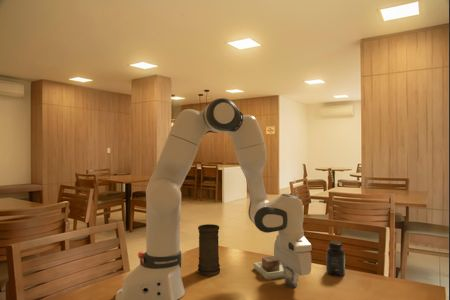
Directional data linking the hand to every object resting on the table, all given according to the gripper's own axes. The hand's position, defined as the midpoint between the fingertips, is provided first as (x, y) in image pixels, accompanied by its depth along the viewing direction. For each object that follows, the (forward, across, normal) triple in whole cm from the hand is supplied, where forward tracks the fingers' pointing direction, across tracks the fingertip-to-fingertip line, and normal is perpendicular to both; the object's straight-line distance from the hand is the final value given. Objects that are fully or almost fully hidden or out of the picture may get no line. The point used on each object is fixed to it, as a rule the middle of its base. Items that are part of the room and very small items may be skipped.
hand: (290, 278), depth 119 cm
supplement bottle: (+2, -4, +22) cm, 22 cm away
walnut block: (+2, -12, -2) cm, 12 cm away
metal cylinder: (+2, 0, 0) cm, 2 cm away
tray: (+2, -13, +1) cm, 13 cm away
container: (+3, -22, -24) cm, 33 cm away
